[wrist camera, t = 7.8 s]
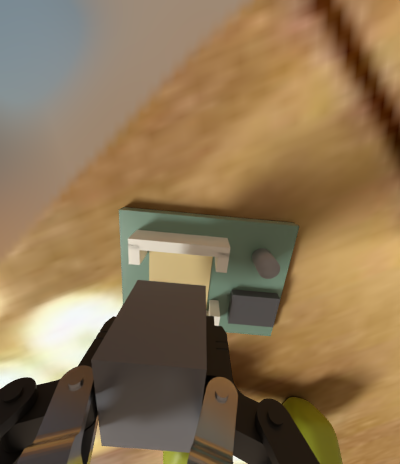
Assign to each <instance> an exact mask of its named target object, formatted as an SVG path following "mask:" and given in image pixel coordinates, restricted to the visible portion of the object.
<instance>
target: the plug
mask: <svg viewBox="0 0 400 464" xmlns="http://www.w3.org/2000/svg"><path fill="white" fill-rule="evenodd" d="M91 363H92V371H93V379H94V387H95V395H96V403H97V411H98V419H99V427H100V435H101V443H102V446H112V447H124V448H134V449H145V450H158V451H174V452H186V453H190V449H191V446H192V444H193V441H194V437H195V433H196V429H197V425H198V421H199V417H200V412H201V408H202V400H203V393H204V386H205V379H206V372H207V348H206V286H204V285H192V284H181V283H170V282H158V281H147V280H137V282H136V284H135V285H134V287H133V289H132V291H131V292H130V294H129V296H128V297H127V299H126V301H125V303H124V304H123V306H122V308H121V309H120V311H119V313H118V315H117V316H116V318H115V320H114V321H113V323H112V325H111V327H110V328H109V330H108V332H107V333H106V335H105V337H104V339H103V340H102V342H101V344H100V346H99V347H98V349H97V351H96V352H95V354H94V356H93V358H92V359H91Z"/></svg>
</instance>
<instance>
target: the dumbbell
mask: <svg viewBox="0 0 400 464" xmlns="http://www.w3.org/2000/svg"><path fill="white" fill-rule="evenodd" d="M282 405H283V406H284V407H285V408H286V409H287V411H288V412H289V414H290V415H291V417H292V419H293V420H294V422H295V424H296V425H297V427H298V428H299V430H300V432H301V433H302V435H303V437H304V438H305V440H306V442H307V443H308V445H309V446H310V448H311V450H312V451H313V453H314V455H315V456H316V458H317V460H318V461H319V463H320V464H343V463H342V458H341V454H340V449H339V445H338V440H337V437H336V434H335V431H334V429H333V427H332V425H331V424H330V422H329V421H328V420H327V419H326V418H325V417H324V415H323V414H322V413H321V412H320V411H319V410H318V409H317V408H316V407H314V406H313V405H312V404H311V403H310V402H308V401H307V400H304V399H301V398H297V397H290V398H288V399H287V400H286V401H285V402H284V403H283V404H282ZM188 457H189V453H186V452H174V451H163V464H187V461H188Z"/></svg>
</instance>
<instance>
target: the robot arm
mask: <svg viewBox="0 0 400 464" xmlns="http://www.w3.org/2000/svg"><path fill="white" fill-rule="evenodd" d="M115 318H116V317H112V318H111V319H109V320H108V321H107V322H106V323H105V324H104V326H103V327H102V329H101V330H100V332H99V333H98V335H97V337H96V339H95V340H94V341H93V343H92V345H91V346H90V348H89V349H88V351H87V352H86V354H85V356H84V357H83V359H82V360H81V362H80V364H79V365H78V366H77V367H75V368H73V369H71V370H69V371H68V372H67V373H66V374H65V375H64V376H63V377H62V378H61V379H59V380H56V381H53V382H48V383H44V384H40V385H36V383H35V381H34V380H33V379H32V378H28V377H26V378H20V379H17V380H14V381H12V382H10V383H9V384H7V385H5V386H4V387H3V388H1V389H0V464H90V460H91V455H92V450H93V445H94V440H95V435H96V430H97V425H98V420H99V419H98V411H97V403H96V395H95V387H94V379H93V371H92V363H91V359H92V358H93V356H94V354H95V352H96V351H97V349H98V347H99V346H100V344H101V342H102V340H103V339H104V337H105V335H106V333H107V332H108V330H109V328H110V327H111V325H112V323H113V321H114V320H115ZM206 348H207V372H206V379H205V386H204V393H203V400H202V408H201V412H200V417H199V421H198V425H197V429H196V433H195V437H194V441H193V444H192V446H191V449H190V453H189V457H188V461H187V464H233V455H234V456H236V457H237V458H239V459H241V460H243V461H244V462H246V463H248V464H320V463H319V461H318V460H317V458H316V456H315V455H314V453H313V451H312V450H311V448H310V446H309V445H308V443H307V442H306V440H305V438H304V437H303V435H302V433H301V432H300V430H299V428H298V427H297V425H296V424H295V422H294V420H293V419H292V417H291V415H290V414H289V412H288V411H287V409H286V408H285V407H284V406H283V405H282V404H281V403H279V402H278V401H276V400H273V399H264V400H262V401H261V402H260V403H258V402H256V401H254V400H252V399H250V398H248V397H246V396H244V395H243V394H242V393H241V392H240V391H239V390H238V389H237V388H236V386H235V384H234V382H233V378H232V371H231V363H230V356H229V348H228V341H227V334H226V332H225V330H224V329H223V327H222V326H215V325H214V316H207V315H206Z"/></svg>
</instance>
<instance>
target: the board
mask: <svg viewBox="0 0 400 464" xmlns="http://www.w3.org/2000/svg"><path fill="white" fill-rule="evenodd" d="M119 224H120V246H121V268H122V291H123V304H124V303H125V301H126V299H127V297H128V296H129V294H130V292H131V291H132V289H133V287H134V285H135V284H136V282H137V280H147V281H158V282H170V283H181V284H192V285H204V286H206V315H207V316H214V325H215V326H222V327H223V329H224V330H225V332H230V333H241V334H252V335H263V336H271V332H272V328H273V325H274V322H275V318H276V314H277V310H278V306H279V303H280V298H281V294H282V290H283V287H284V283H285V279H286V275H287V271H288V268H289V264H290V260H291V256H292V252H293V249H294V245H295V241H296V237H297V233H298V230H299V226H298V225H297V224H295V223H292V222H281V221H270V220H259V219H248V218H237V217H227V216H216V215H205V214H194V213H183V212H172V211H161V210H151V209H140V208H129V207H123V208H121V209H119Z"/></svg>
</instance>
